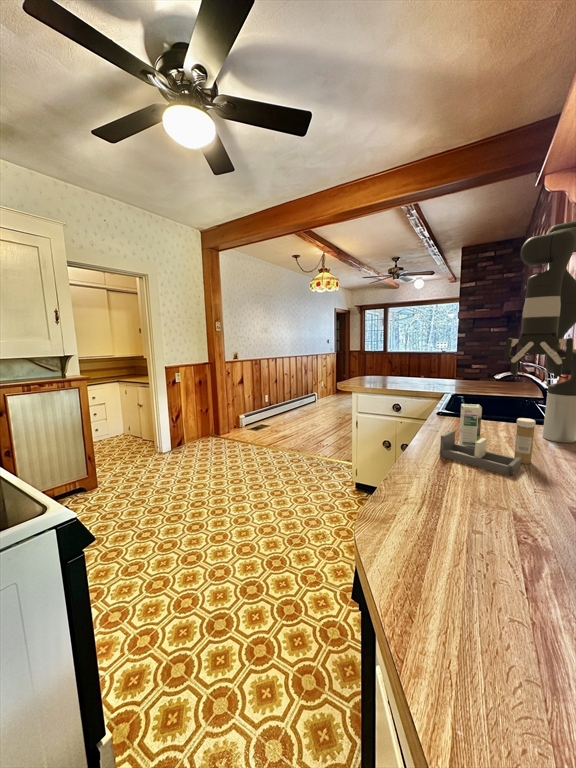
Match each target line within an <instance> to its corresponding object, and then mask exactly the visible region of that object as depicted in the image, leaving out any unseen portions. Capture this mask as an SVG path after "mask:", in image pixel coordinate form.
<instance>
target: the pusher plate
mask: <svg viewBox="0 0 576 768" xmlns="http://www.w3.org/2000/svg"><path fill="white" fill-rule="evenodd" d="M487 439H488V438H484V437H481V438H480V440H478V441H476V442H475V447H474V448H475V454H474V457H478V458H481V457H483V456H484V455H485V454H486V451H487Z"/></svg>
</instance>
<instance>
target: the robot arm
mask: <svg viewBox="0 0 576 768" xmlns="http://www.w3.org/2000/svg"><path fill="white" fill-rule="evenodd" d="M573 253H576V220H572V221H568V222H563V223H560V224H555V225H553V226H551V227H550V229H549V231H548V233H547V234H541V235H537V236H536V235H535V236H532V237H530V238H528V239H527V240H526V241H525V242H524V243H523V245H522V246H521V248H520V258H521V261H522V262H523V263H524V264H525V265H527V266H539V265H547V264H548V269H547V270H545V271H543V272H539V273H536V274H534V275H531V276H529V277H528V278H527V283H526V291H525V301H524V305H523V308H522V320H521V331H520V337H519V338H518V339H517V338H512V337H509V338H507V339H506V341H505V346H504V352H503V360H504V361H508V362H510V375H513V376H512V377H518V375H519V360H520V359H521V358H522V357H523V356H524V355H526V354H527V355H529V356H530V355H531V356H533V355H538V356H544V355H545V370H546V372H547V373H548V374H550V375H553V377H552V378H553V379H555V380H557V379H558V377H561V376H562V375H564V376H570V378H569V379H567V380H565V381H561V382H557V383H556V382H555V383H551V384H549V385H548V387H547V393H546V395H547V396H546V402H545V403H546V404H545V411H544V419H543V420H544V421H543V429H542V438H544V439H545V440H549V441H552V442H557V443H564V444H569V443H570V444H572V443H573V444H574V443H575V442H576V349H575V348H574V338H572V337H568V338H564V337H565V336H566V334H567V333H568V332H569V331H570V330H571V328H572V327H574V326H575V324H576V279H575V278H574V276H573V275H571V273H570V271H568V269H567V267H568V264H569V262H570V260H571V258H572V256H573ZM516 344H518V345H519V346H520V347H521V350H519V351H518V352H517V353H516V354H515V355H514V356H512V350H513V347H515V346H516ZM560 345H562V347H564V348H560Z"/></svg>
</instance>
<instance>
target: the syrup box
mask: <svg viewBox="0 0 576 768" xmlns="http://www.w3.org/2000/svg"><path fill="white" fill-rule="evenodd" d="M482 413H483V407H482V406H481V405H480V404H472V403H469V404H468V403H461V404H460V420H459V423H460V424H459V438H458V441H459V445H463V446H468V447H472V448H475V442H476V441H478V440H480V439H481V438H480V437H481V426H482V424H481V423H482V415H483V414H482Z"/></svg>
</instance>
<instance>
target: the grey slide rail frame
mask: <svg viewBox="0 0 576 768" xmlns="http://www.w3.org/2000/svg"><path fill="white" fill-rule="evenodd" d="M455 441H456V430H454V429H452V430H450V431H448V432H445V433H443V434H441V435H440V446H439V457H442V458H446V459H448V460H452V461H456V462H459V463H463V464H467V465H470V466H474V467H478V468H481V469H485V470H488V471H490V472H491V471H492V472H495V473H499V474H502V475H506V476H508V477H509V476H510V477H513V475H515V473H516V472H517V471H518V470H519V469H521V467H522V463H521V458H520V457H517V458H514V457H513V456H508V455H504V454H500V453H495V452H492V451H487V450H486V454H485V455H484V456H483V457H481V458H478V457H474V454H475V447H470V446H463V445H461V444H460V443H456V442H455Z"/></svg>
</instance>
